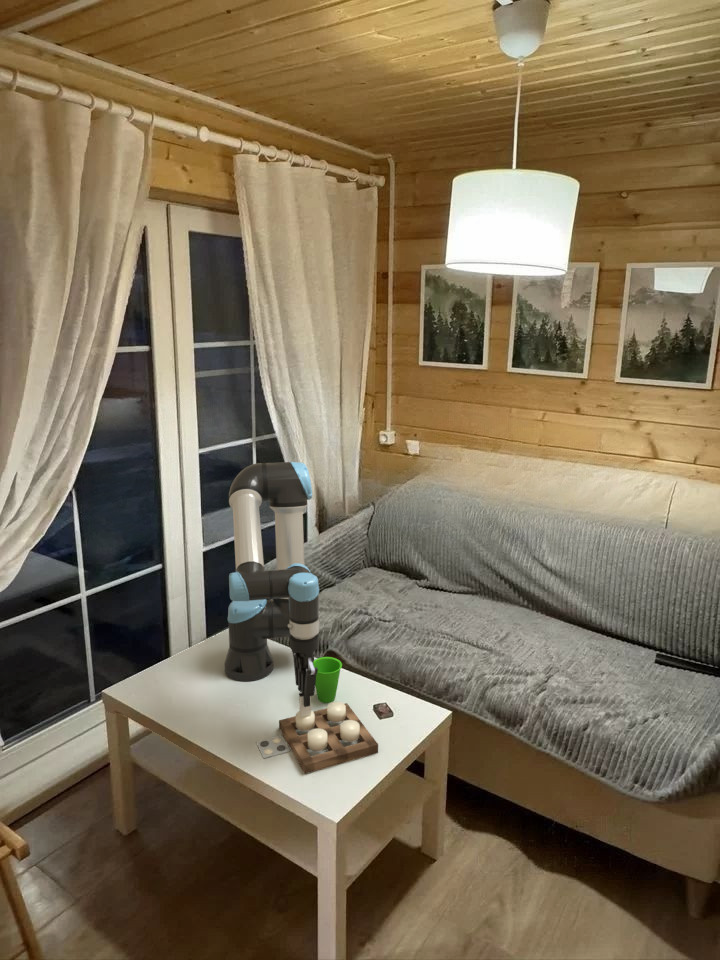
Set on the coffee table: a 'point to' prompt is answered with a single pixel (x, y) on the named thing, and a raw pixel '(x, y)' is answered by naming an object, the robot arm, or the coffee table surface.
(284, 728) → the board
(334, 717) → the button back left
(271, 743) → the card
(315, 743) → the button front right
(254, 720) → the coffee table surface
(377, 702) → the coffee table surface
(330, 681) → the cup
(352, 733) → the button front left
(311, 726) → the button back right
